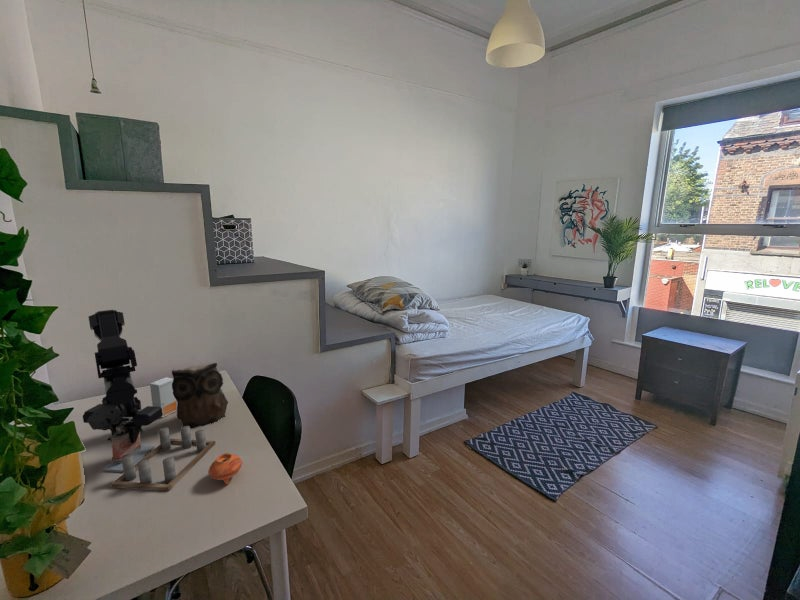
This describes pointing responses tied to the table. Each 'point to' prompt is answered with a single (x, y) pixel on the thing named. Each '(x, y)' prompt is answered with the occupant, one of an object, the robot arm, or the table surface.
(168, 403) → the skincare box
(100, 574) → the table surface
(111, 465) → the mat
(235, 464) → the pot
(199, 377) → the owl
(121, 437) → the lighter
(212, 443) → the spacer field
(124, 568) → the table surface
